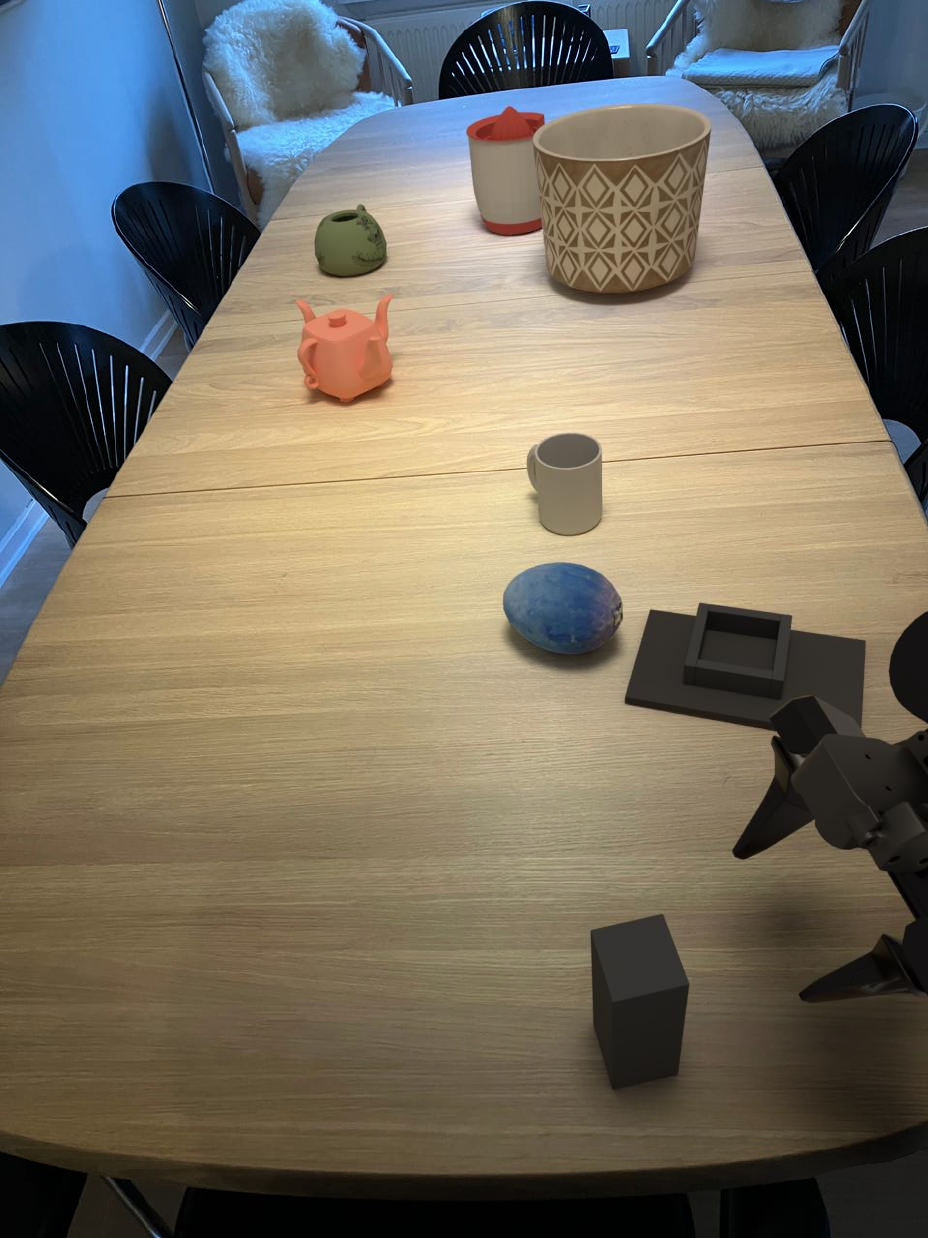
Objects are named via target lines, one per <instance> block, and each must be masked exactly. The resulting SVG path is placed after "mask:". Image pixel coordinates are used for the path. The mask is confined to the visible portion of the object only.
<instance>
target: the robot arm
mask: <svg viewBox="0 0 928 1238" xmlns="http://www.w3.org/2000/svg"><path fill="white" fill-rule="evenodd" d="M888 677H889V685H890V687H891V690H892V692H893V694H894V697H895V699H896V700H897V702H898V703H899V704H900V705H901V706H902V707H903V708H904V709H905V710H906V711H907V712H908V713H910V714H911V715H912V716H914V717H916V718H917V719H919V720H921V721H922V722H924V723H926V724H927V725H928V610H927V611H925V612H923V613H921V614H920V615H919V616H917V617H916V618H915V619H914V620H912V622H911V623H909V625H908V626H906V628H905V629H903V631H902V632H901V634H900V635H899V638H898V639H897V640H896V642H895V644H894V647H893V649H892V652H891V654H890V658H889V666H888ZM769 719H770V721H771V722H772V724H773V726H774V728H775V729H776V730H775V731H776V733H777V735H776V734H773V736H772V737H771V740H770V747H771V748H772V750H773V754H774V755H773V756H774V774H773V778H772V780H771V783H770V784H769V786H768V788H767V791H766V793H765V795H764V796H763V798H762V800H761V802H760V803H759V805H758V807H757V809H756V811H755V812H754V813H753V815H752V816H751V818H750V820H749V822H748V823H747V825H746V826H745V828H744V830H743V832H742V833H741V834H740V837H738V839H737V841H736V843H735V844H734V846H733V848H732V850H731V853H732V855H733V857H734V858H736V859H739V860H743V861H744V860H747V859H749V858H752V857H753V856H756V855H759V854H760V853H762V852H765V851H766V850H768V849H770V848H771V847H773V846H775V845H776V844H778V843H780V842H781V841H783V840H784V839H786V838H787V837H789V836H791V835H792V834H795V833H796V832H797V831H798V830H800V829H802V828H804V827H805V826H807V825H808V824H810V823H812V822H813V821H814V827H815V829H816V830H817V833H818V834H819V836H820V837H821V838H822V839H823V840H824V841H825V842H826V843H827V844H829V845H830V846H831V847H834V848H836V849H839V850H842V851H843V850H844V851H851V850H854V849H862V850H866V851H867V852H868V853H869V856H870V857H871V858H872V861H873V862H874V864H875V865H876V867H877V868H878V870H879V871H882V872H886V873H887V875H888V876H889V878H890V880H891V881H892V883H893V884H894V886H895V888H896V889H897V891H898V893H899V895H900V896H901V898H902V900H903V902H904V903H905V905H906V907H907V908H908V910H909V911H910V913H911V915H912V916H913V919H914V920H913V921H911V922H910V923H909V924H907V925H905V927H904V932H903V937H902V939H901V938H898V937H895V936H892V935H890V934H888V933H882V934H881V935H880V937H879V938H878V940H877V941H876V942H875V944H874V946H873V948H872V949H871V950H870V951H869V952H866V953H865V954H862V956H860V957H858V958H855V959H854V960H852V961H849V962H848V963H846V964H844V965H842V966H840V967H838V968H835V969H834V970H832V971H831V972H829V973H826V974H824V975H823V976H821V977H818V978H817V979H815V980H814V981H813V982H811V983H809V984H808V985H807V986H806V987H804V988H803V989H801V990H800V991H799V992H798V997H799V999H800V1001H802V1002H804V1003H807V1004H816V1003H818V1004H819V1003H826V1002H834V1001H843V1000H852V999H859V998H867V997H869V998H870V997H876V996H887V995H913V996H915V997H916V998H920V999H923V1000H925V1001H928V727H927V728H925V729H924V730H918V731H917V732H915V733H914V734H912V735H911V736H909V737H908V738H906V739H904V740H901V741H897V742H896V743H895V742H894V743H893V744H892V743H889V742H888V741H885V740H883V739H881V738H875V737H867V736H866V734H865V733H864V731H863V730H862V728H861V729H860V727H859V726H858V724H857V723H856V721H855V720H854V718H852V717H850V716H849V715H847V714H845V713H843V712H842V711H840V710H838V709H836V708H835V707H833V706H831V705H829V704H828V703H826V702H824V701H822V700H821V699H819V698H817V697H816V696H814V695H809V696H800V697H796V698H791V699H790V700H789V701H787V702H786V703H785V704H784V705H782V706H781V707H780V708H779V709H777V710H776V711H775V712H774V713H772V714H771V716H770V718H769Z"/></svg>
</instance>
